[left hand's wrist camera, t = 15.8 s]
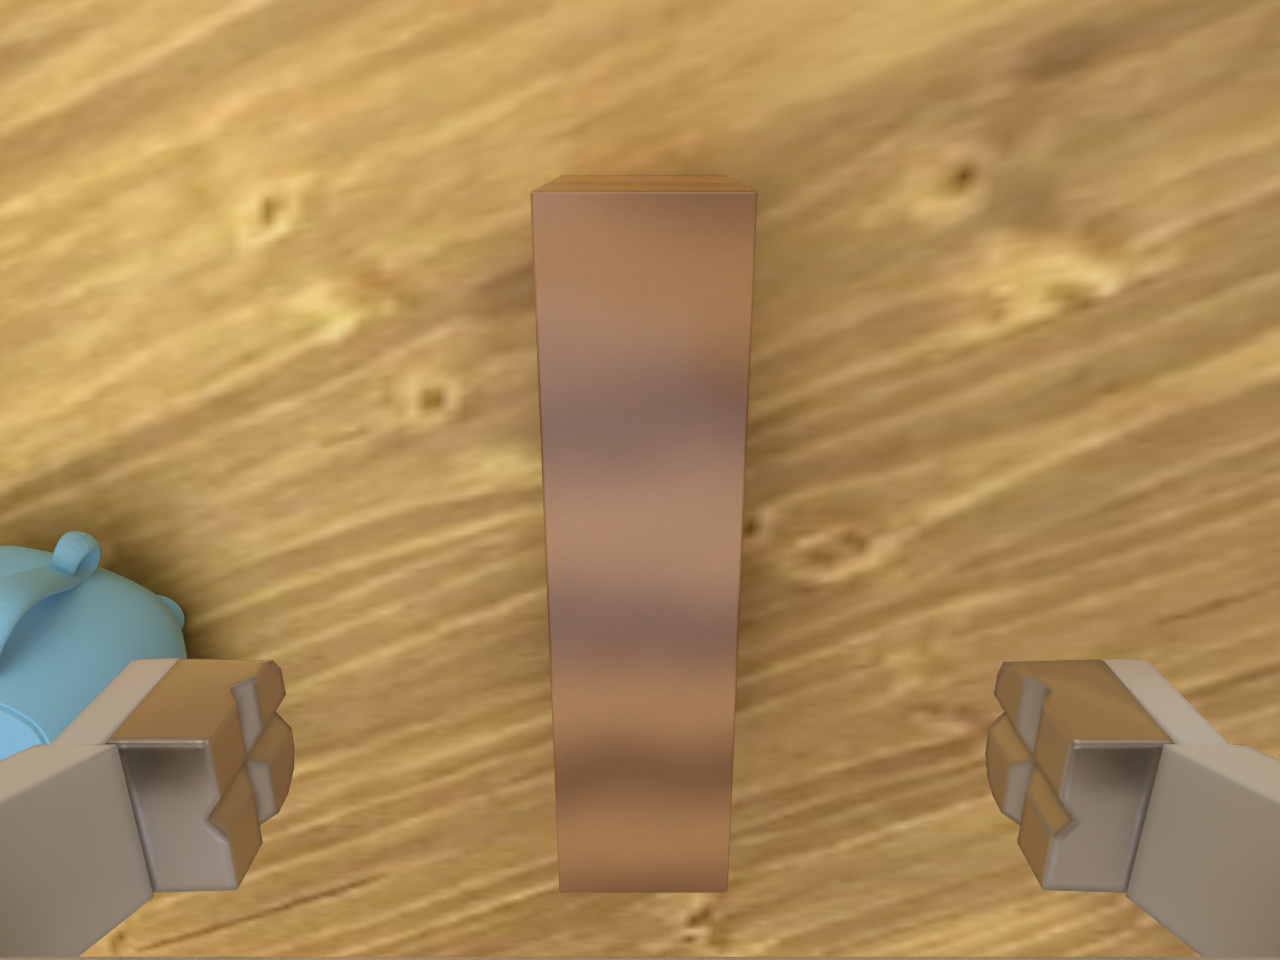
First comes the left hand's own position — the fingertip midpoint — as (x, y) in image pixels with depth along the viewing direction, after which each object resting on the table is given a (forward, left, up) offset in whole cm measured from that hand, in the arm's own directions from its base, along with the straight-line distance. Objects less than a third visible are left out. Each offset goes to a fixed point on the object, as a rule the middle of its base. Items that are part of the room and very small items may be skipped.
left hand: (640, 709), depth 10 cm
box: (+7, +4, -28) cm, 29 cm away
